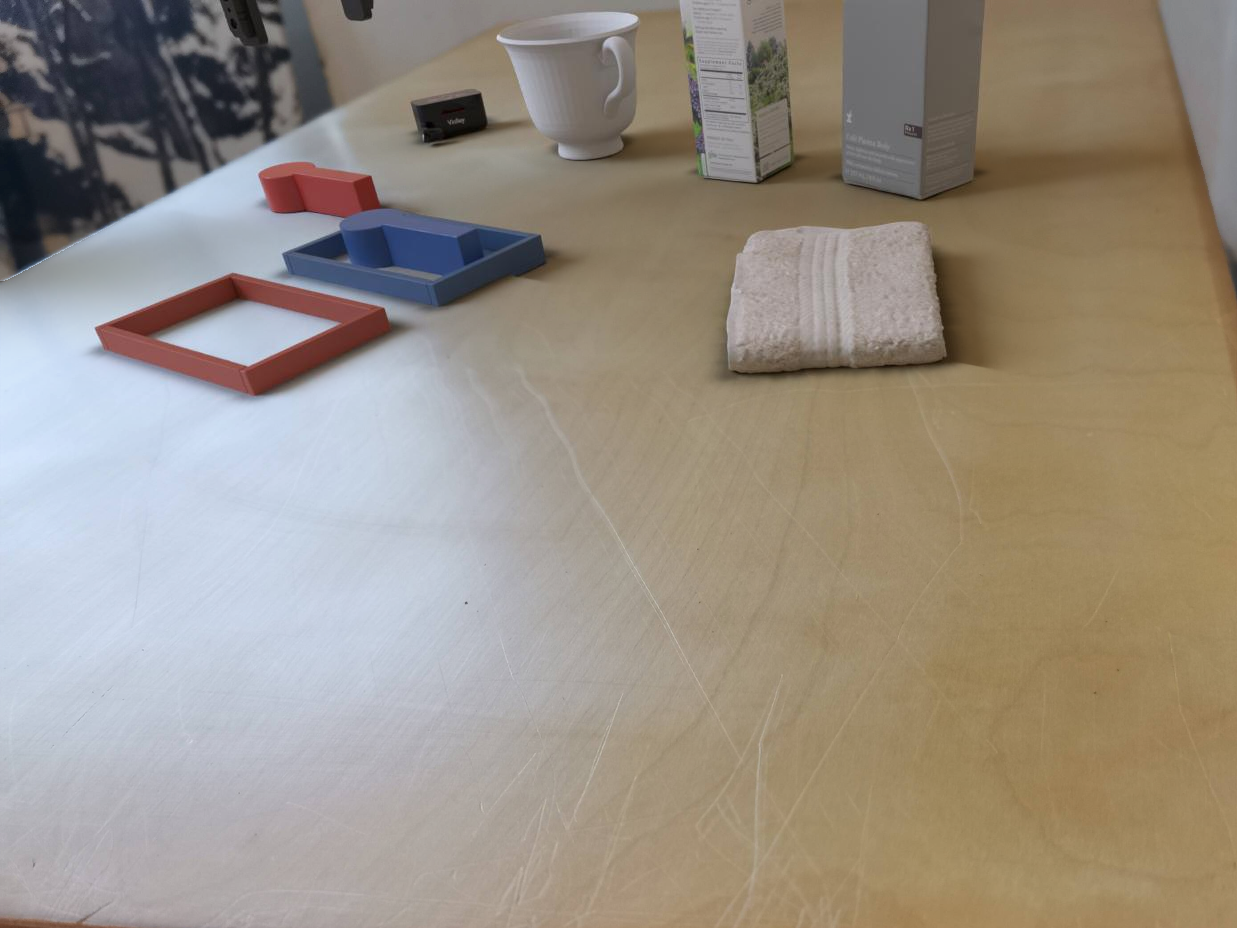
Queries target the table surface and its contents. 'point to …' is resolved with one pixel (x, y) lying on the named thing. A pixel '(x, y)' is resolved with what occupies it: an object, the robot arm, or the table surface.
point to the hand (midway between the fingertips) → (309, 32)
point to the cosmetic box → (910, 93)
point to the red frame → (130, 341)
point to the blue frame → (501, 257)
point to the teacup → (577, 78)
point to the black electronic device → (449, 114)
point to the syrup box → (738, 87)
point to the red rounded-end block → (317, 190)
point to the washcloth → (835, 299)
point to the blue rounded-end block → (408, 242)
